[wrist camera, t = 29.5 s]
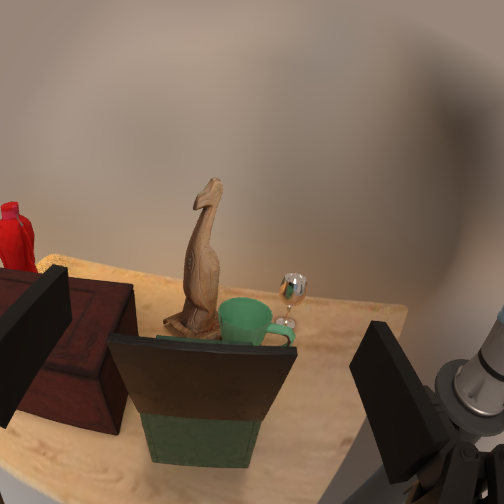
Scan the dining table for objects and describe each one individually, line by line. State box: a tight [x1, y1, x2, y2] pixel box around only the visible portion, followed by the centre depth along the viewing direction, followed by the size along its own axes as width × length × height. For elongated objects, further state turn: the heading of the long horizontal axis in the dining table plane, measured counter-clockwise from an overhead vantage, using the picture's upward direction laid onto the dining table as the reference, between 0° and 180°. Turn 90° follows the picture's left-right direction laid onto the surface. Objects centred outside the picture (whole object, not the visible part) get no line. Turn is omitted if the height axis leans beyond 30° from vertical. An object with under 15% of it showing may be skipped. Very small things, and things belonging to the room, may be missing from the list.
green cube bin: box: [140, 335, 262, 468], centre depth 39 cm, size 14×14×14 cm
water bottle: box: [0, 202, 38, 273], centre depth 55 cm, size 9×11×25 cm
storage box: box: [0, 268, 139, 435], centre depth 43 cm, size 39×23×15 cm, turn 95°
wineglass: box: [276, 273, 307, 329], centre depth 68 cm, size 6×6×12 cm
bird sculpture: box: [163, 178, 223, 340], centre depth 58 cm, size 11×12×32 cm
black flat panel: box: [107, 333, 298, 421], centre depth 25 cm, size 15×14×1 cm
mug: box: [218, 297, 295, 346], centre depth 57 cm, size 15×10×10 cm
